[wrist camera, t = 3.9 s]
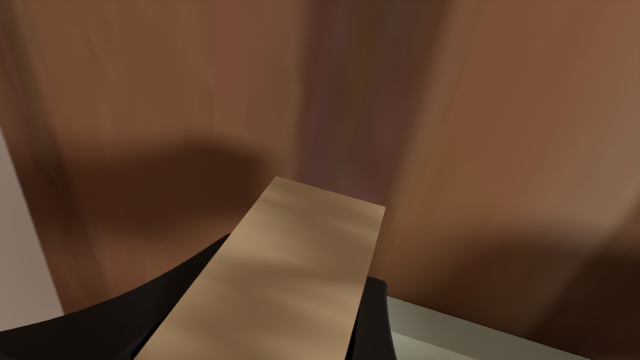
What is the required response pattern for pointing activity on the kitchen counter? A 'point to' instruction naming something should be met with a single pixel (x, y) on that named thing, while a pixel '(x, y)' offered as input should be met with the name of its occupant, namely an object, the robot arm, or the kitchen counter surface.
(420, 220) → the kitchen counter surface
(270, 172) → the kitchen counter surface
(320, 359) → the oak peg
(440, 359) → the socket board
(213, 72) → the kitchen counter surface
